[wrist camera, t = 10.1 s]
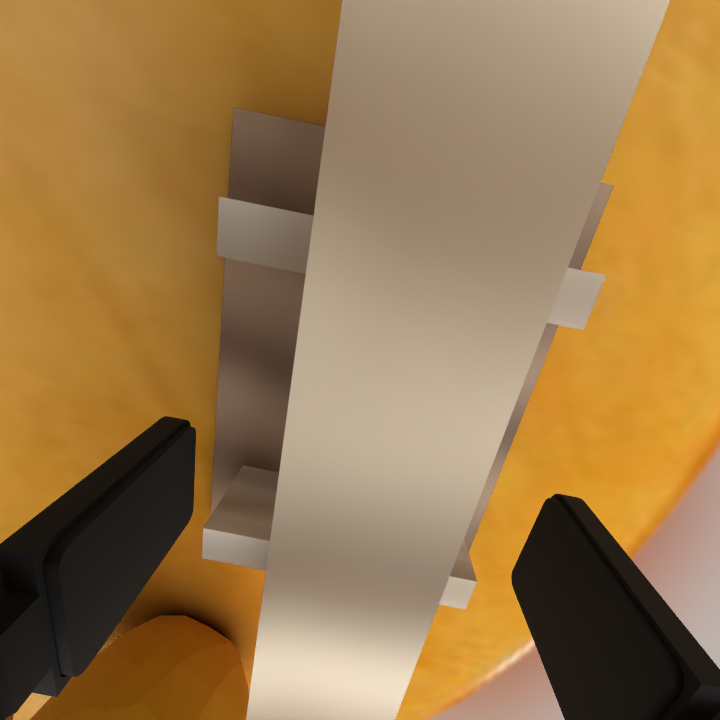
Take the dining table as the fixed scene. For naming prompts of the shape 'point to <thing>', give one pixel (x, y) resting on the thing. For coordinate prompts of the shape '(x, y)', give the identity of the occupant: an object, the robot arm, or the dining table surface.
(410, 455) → the beech bar
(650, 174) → the dining table surface
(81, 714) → the apple
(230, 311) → the rail rest
